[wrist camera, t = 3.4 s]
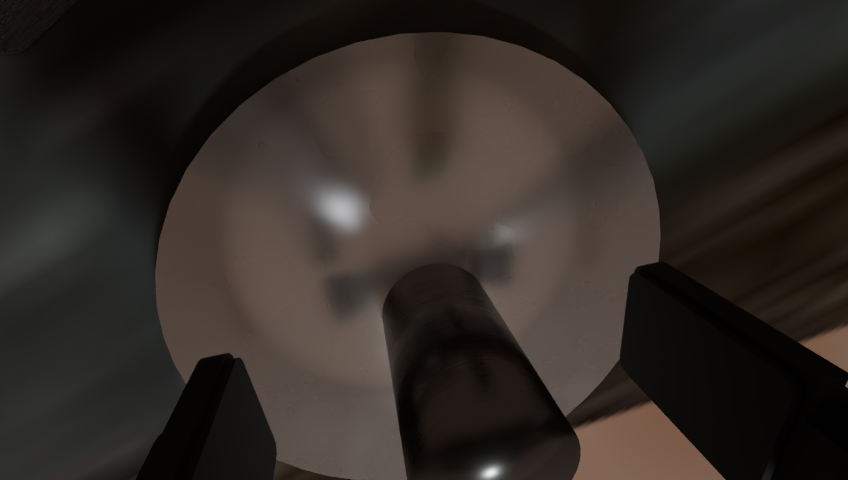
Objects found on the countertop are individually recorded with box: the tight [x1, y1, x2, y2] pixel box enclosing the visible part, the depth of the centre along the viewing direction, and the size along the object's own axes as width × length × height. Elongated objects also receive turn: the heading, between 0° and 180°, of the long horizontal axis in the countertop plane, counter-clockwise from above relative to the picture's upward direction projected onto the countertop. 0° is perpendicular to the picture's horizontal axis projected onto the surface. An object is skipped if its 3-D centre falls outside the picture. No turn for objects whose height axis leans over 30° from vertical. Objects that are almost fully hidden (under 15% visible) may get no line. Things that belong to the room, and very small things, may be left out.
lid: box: [155, 32, 660, 480], centre depth 9 cm, size 14×14×6 cm
